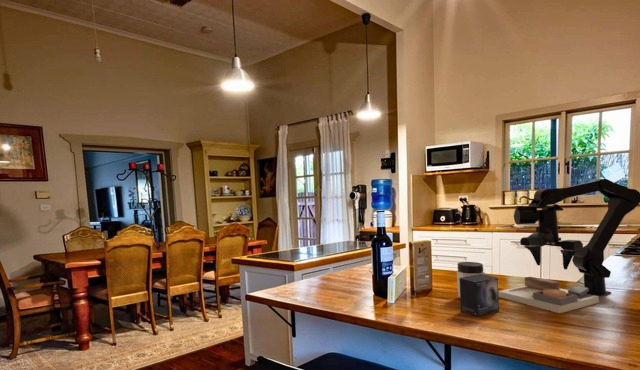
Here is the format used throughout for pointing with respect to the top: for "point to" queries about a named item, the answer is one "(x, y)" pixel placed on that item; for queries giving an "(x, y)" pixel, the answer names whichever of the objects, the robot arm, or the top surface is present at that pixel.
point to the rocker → (578, 290)
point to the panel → (548, 299)
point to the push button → (554, 293)
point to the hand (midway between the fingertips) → (551, 267)
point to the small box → (479, 294)
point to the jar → (468, 271)
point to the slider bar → (541, 283)
